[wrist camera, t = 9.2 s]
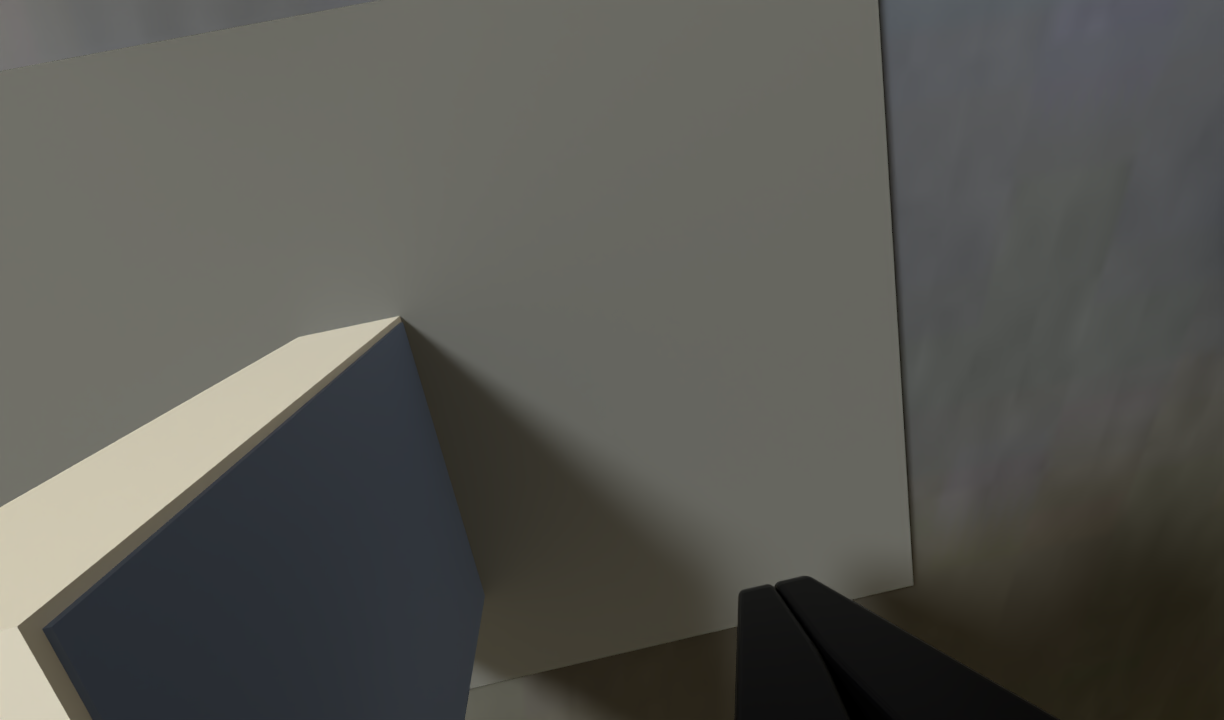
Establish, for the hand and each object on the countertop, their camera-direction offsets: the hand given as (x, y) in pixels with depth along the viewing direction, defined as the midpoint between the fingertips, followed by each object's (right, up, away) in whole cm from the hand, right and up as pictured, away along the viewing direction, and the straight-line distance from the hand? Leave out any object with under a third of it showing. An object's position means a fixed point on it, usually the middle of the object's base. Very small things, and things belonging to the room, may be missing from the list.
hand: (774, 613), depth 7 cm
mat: (-5, +2, +5) cm, 7 cm away
